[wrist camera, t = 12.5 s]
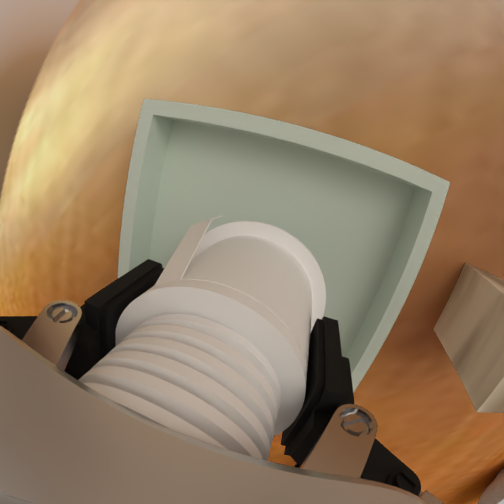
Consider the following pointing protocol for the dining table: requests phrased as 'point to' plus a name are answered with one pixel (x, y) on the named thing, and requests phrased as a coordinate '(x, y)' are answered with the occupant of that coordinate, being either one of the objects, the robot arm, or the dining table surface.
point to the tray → (286, 206)
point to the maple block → (476, 336)
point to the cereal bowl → (494, 491)
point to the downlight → (220, 338)
